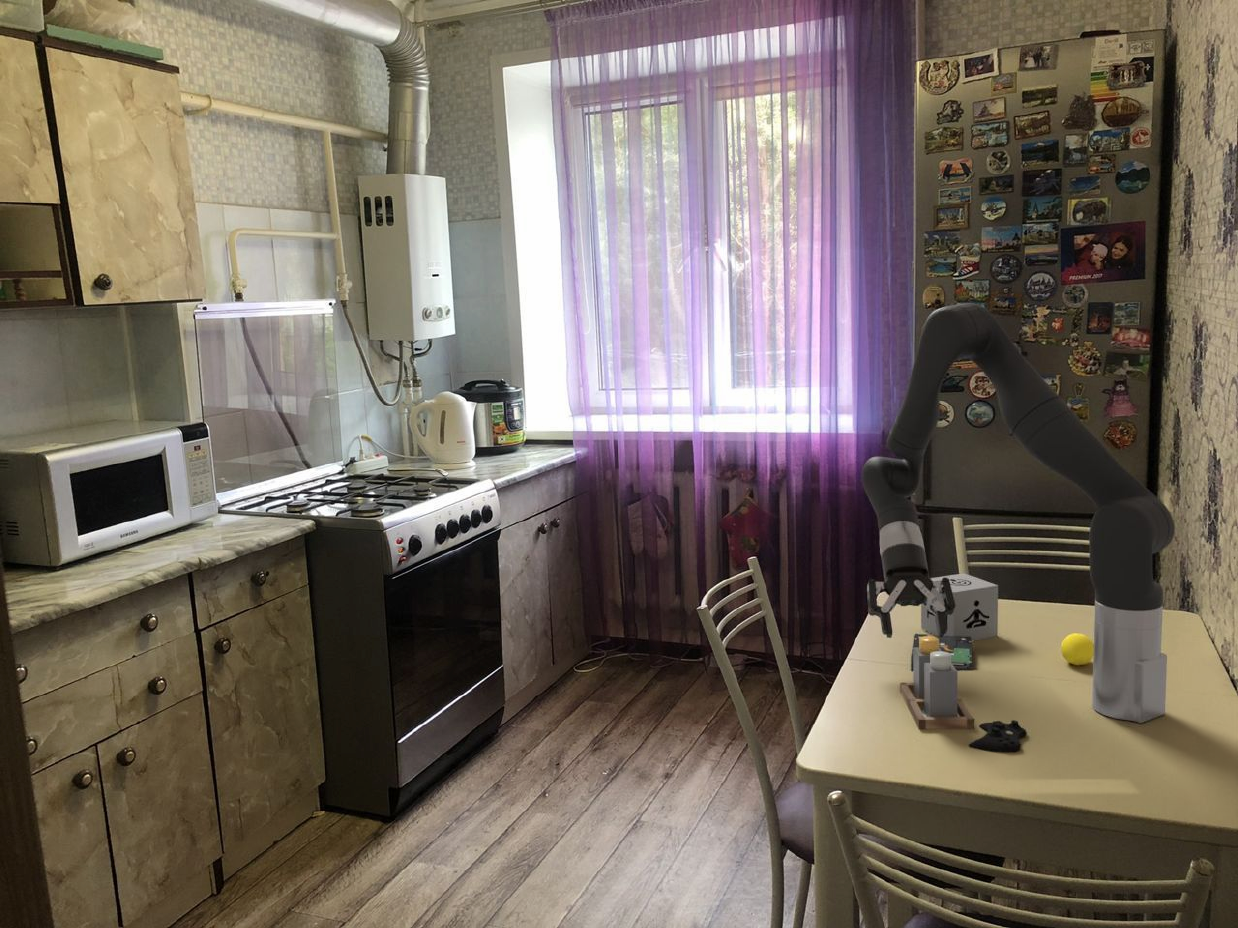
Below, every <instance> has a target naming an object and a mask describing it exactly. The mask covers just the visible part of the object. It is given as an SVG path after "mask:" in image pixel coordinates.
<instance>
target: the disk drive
mask: <svg viewBox="0 0 1238 928" xmlns="http://www.w3.org/2000/svg"><path fill="white" fill-rule="evenodd" d="M923 636H929V635H928V634H926V633H925V634H923V633H921V634H920V633H915V634H914V635H913V644H912V650H911V654H910V655H911V656H910V657H911V658H910V671H911V672H913V648H914V647H919V638H920V637H923ZM935 637H936V638H938V639H939V648H940V649H941V650H942V651H943V652H947V653H950V654H951V663H952V665H953V666H954V668H955V669H956V671H957V672H959V671H964V672H967V671H973V641H972V639H971V637H962V636H961V637H958V636H943V637H938V636H935Z"/></svg>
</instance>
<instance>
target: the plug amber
mask: <svg viewBox="0 0 1238 928" xmlns="http://www.w3.org/2000/svg"><path fill="white" fill-rule="evenodd" d="M912 650H913V671H912V672H913V677H912V678H913V682H912V683H913V695H914V697H915V699H924V663H930V653H932V652H935V651H942V650H941V649H940V648H939V639H938V638H936V636H932V635H931V636H930V635H928V636H923V637H920V638H919V647H914V648H913V647H912Z"/></svg>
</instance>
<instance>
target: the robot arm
mask: <svg viewBox="0 0 1238 928" xmlns="http://www.w3.org/2000/svg"><path fill="white" fill-rule="evenodd" d="M921 330H922V331H921V335H920V337H919V340H918V341H919V342H918V347H917V349H916V353H915V357H914V362H913V365H912V370H911V374H910V378H909V382H908V385H907V388H906V389H907V390H906V393H905V396H904V398H903V401H902V404H901V405H900V408H899V410H898V412H897V415H896V418H895V419H894V422H893V424H892V427H891V429H890V431H889V434H888V436H887V438H886V447H887V448H888V450H889V451H890V452H891V453H892V454H893V455H895V456H897V457H898V458H892V457H885V456H874V457H873V456H872V457H870V458H869V459H868V460H867V461H865V463H864V465H863V467H862V469H861V470H862V471H861V481H862V482H861V483H862V486H863V489H864V491H865V494H866V496H867V498H868V500H869V502H870V503H871V506H872V508H873V510H874V512H875V515H876V518H877V523H878V525H877V526H878V532H879V548H880V550H879V553H880V556H881V564H882V569H883V570H882V571H883V577H884V581H876V580H875V578H869V579H868V583H867V586H866V592H867V593H866V594H867V608H868V610H867V611H868V615H870V616H872V617H874V616H877V617H879V619H880V625H881V632H882V634H883V635H886V638H887V639H892V636H893V626H892V619H891V618H892V617H891V612H892V611H893V610H894V608H895V607H896V606H897V605H900V607H907V606H913V607H919V606H921V604H922V605H923V606H924V607H925V608H926V609H927V610H930V611H931V612H932V613H933V614H934V615H935V616H936V618H935V621H936V627H937V633H938V637H943V636H944V634H946V631H947V628H948V627H947V621H946V616H945V615H948V614H949V615H951V614H953V611H954V608H955V606H956V605H955V601H954V597H953V593H952V589H951V585H950V581H949V579H948V578H946V577H945V578H943V579H942V580H940V581H932V580H931V579H930V578H931V577H930V575H929V574H930V573H929V567H928V562H927V557H926V552H925V551H926V550H925V545H924V539H923V535H922V533H921V530H920V524H919V518H918V514H917V513H918V512H917V508H916V506H915V504H914V502H913V501H911V499H908V498H909V497H911V496H913V495H914V494H916V492H917V491H918V489H919V487H920V485H921V478H922V468H923V462H924V458H925V457H924V456H925V452H926V450H927V447H928V445H929V443H930V441H931V439H932V437H933V435H934V434H935V433H934V432H935V431H936V428H937V425H938V423H939V419H940V407H941V406H940V405H941V404H940V403H941V402H940V393H941V388H942V385H943V381H944V379H945V378H946V375H947V374H948V372H949V371H950V369H951V368H952V366H953V364H954V363H955V362H956V361H960V360H963V359H964V360H965V359H969V360H970V361H972V362H973V364H975V365H976V366H977V367H978V368H979V369H980V371H981V372H982V373H983V374H984V375H985V376H986V378H987V379H988V380H989V381H990V383H991V385H992V386H993V388H994V391H995V394H996V397H997V401H998V406H999V409H1000V414H1001V416H1002V419H1003V422H1004V424H1005V426H1006V427H1007V429H1008V431H1010V433H1011V434H1012V436H1014V438H1015V439H1016V440H1017V441H1018V442H1019V443H1020V445H1021V446H1022V448H1024V449H1025V450H1026V451H1027V453H1028V454H1029V455H1030V456H1032V457H1033V458H1034V459H1035V460H1036V461H1037V462H1039V463H1040V464H1041V465H1043V466H1045V467H1046V468H1048V469H1049V470H1050V471H1052V472H1054V473H1055V474H1057V475H1058V476H1060V477H1062V478H1064V479H1065V480H1066V481H1068V482H1070V483H1072V484H1073V485H1075V486H1076V487H1077V488H1078V489H1080V490H1081V491H1082V492H1083V493H1084V494H1085V495H1086V496H1087V498H1089V499H1090V500H1091V501H1092V502H1093V504H1094V505H1095V506H1096V507H1097V508H1098V509H1097V510H1096V511H1095V512H1094V514H1093V517H1092V520H1091V522H1090V527H1089V541H1088V544H1089V545H1088V546H1089V576H1090V582H1091V584H1092V586H1093V589H1094V622H1093V623H1094V624H1093V625H1094V626H1093V628H1094V629H1093V644H1094V655H1093V657H1092V660H1093V661H1092V663H1093V664H1092V697H1091V698H1092V702H1091V703H1092V705H1091V706H1092V708H1093V709H1094V710H1095V711H1096V712H1098V713H1099V714H1101V715H1103V716H1107V717H1110V718H1113V719H1117V720H1122V721H1123V720H1124V721H1132V722H1136V723H1139V724H1143V723H1145V722H1148V721H1150V720H1153V719H1155V718H1158V717H1161V716H1164V715H1165V714H1166V697H1167V696H1166V694H1167V673H1168V672H1167V671H1168V670H1167V669H1168V668H1167V667H1168V656H1167V654H1166V653H1163V652H1162V636H1163V635H1162V634H1163V609H1164V607H1163V605H1164V589H1163V587H1162V586H1161V584H1159V583H1158V582H1157V581H1154V577H1153V576H1154V575H1153V555H1154V554H1156V553H1159V552H1161V551H1163V550H1165V549H1167V547H1168V546H1169V545H1170V544H1171V543H1172V541H1173V540H1174V536H1175V531H1176V527H1175V522H1174V519H1173V516H1172V514H1171V512H1170V510H1169V509H1168V508H1167V506H1166V505H1165V503H1163V502H1162V500H1160V499H1159V498H1158V497H1157V496H1156V495H1155V494H1154V493H1153V492H1151V491H1150V489H1148V488H1147V487H1146V486H1144V484H1143V483H1141V482H1140V481H1139V480H1138V479H1137V478H1136V477H1135V476H1134V475H1132V474H1131V472H1129V471H1128V470H1127V469H1126V468H1124V466H1123V465H1121V463H1120V462H1119V461H1118V460H1117V459H1116V458H1115V457H1114V456H1113V455H1112V454H1111V453H1110V451H1109V450H1108V449H1107V447H1105V446H1104V445H1103V443H1102V442H1101V441H1100V440H1099V438H1098V437H1096V436H1095V434H1093V432H1092V431H1091V430H1090V429H1089V428H1088V426H1086V424H1084V422H1083V421H1082V420H1081V418H1079V416H1078V415H1077V413H1075V411H1074V410H1073V409H1071V407H1070V406H1069V405H1068V404H1067V403H1066V402H1065V401H1064V399H1063V398H1062V397H1061V396H1060V395H1059V394H1058V393H1057V392H1056V391H1055V390H1054V389H1053V388H1052V387H1051V386H1050V385H1049V384H1048V382H1046V381H1045V379H1044V378H1043V377H1042V376H1041V375H1040V373H1039V372H1038V371H1037V370H1036V369H1035V368H1034V367H1033V366H1032V364H1031V363H1029V361H1028V360H1027V359H1026V358H1025V357H1024V355H1023V354H1022V353H1021V351H1019V349H1018V348H1017V346H1016V345H1015V343H1014V342H1013V341H1012V340H1011V339H1010V337H1009V335H1008V334H1007V333H1006V331H1005V330H1004V329H1003V327H1002V325H1001V324H1000V323H999V321H998V320H997V318H996V317H995V316H994V315H993V313H991V312H990V311H989V310H988V309H987V308H986V307H984V306H983V305H980V304H978V303H972V302H970V303H969V302H967V303H959V304H955V305H954V304H953V305H947V306H944V307H940V308H938V309H935V310H934V311H932V312H931V314H929V316H928V317H927V319H926V321H925V322H924V325H923V327H922V329H921ZM899 458H900V459H899ZM932 588H935V589H936V590H937V592H938V593H939V594H942V598H943V602H944V606H943V605H942V604H941V603H940V602H939V601H938V600H937V598H936V597H935V596H934V595H933V594H932V593H931V590H932ZM881 590H883V592H885V593H886V594H887V595H888V597H887V599H886V601H885V602H884V603H883V605H882V606H881V605H878V600H877V599H878V598H877V597H878V596H877V595H879V594H880V593H881Z"/></svg>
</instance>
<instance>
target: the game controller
mask: <svg viewBox="0 0 1238 928" xmlns="http://www.w3.org/2000/svg"><path fill="white" fill-rule="evenodd" d="M978 726H979V729H981V730H983V731H985V732H987V733H985V734H984V735H983V736H982V737H980V738H978V739H976V740H974V741H972V742H971V743H969V744H968V747H969V748H971V749H975V750H979V751H984V752H989V753H990V752H991V753H1016V752H1018V751H1020V750H1021V748H1022V744H1021V742H1020V740H1021V739H1025V737H1026V736H1027V734H1028V732H1027V730H1026V729H1025V728H1024V727H1022V726H1021V725H1020V724H1019V722H1018V720H1013V719H1012V720H1010V723H1004V722H1002V721H1000V720H997V721H996V720H995V721H992V722H983V723H981V724H979V725H978Z"/></svg>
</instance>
